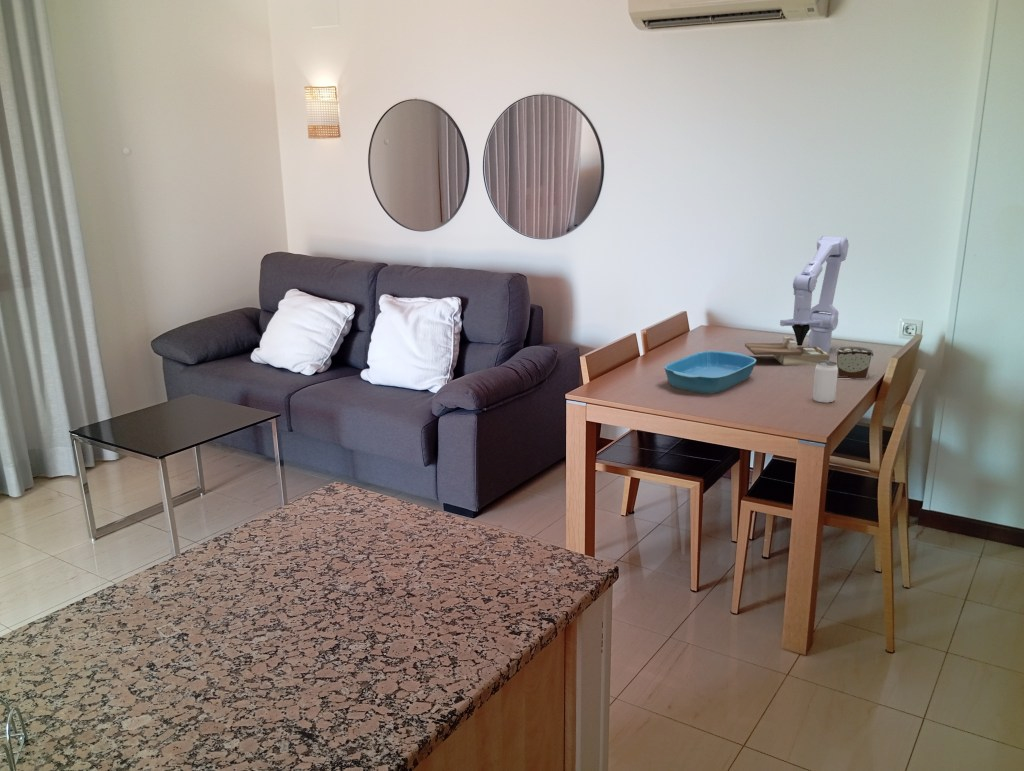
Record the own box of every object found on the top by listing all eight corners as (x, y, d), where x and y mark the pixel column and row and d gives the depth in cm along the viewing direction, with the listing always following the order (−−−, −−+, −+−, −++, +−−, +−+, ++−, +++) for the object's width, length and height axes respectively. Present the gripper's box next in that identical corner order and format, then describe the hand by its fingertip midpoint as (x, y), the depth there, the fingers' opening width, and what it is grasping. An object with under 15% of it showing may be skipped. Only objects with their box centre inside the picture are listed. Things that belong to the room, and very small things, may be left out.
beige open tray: (773, 358, 302) (774, 346, 300) (816, 358, 301) (817, 346, 300) (783, 367, 289) (784, 355, 288) (828, 367, 289) (829, 354, 287)
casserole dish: (713, 401, 252) (714, 379, 250) (652, 388, 267) (653, 367, 265) (765, 376, 279) (766, 356, 277) (707, 366, 293) (708, 347, 291)
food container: (865, 374, 279) (868, 346, 276) (870, 378, 273) (874, 350, 270) (828, 373, 280) (831, 345, 277) (833, 378, 274) (836, 350, 271)
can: (809, 397, 253) (812, 360, 250) (829, 396, 254) (832, 360, 250) (818, 403, 247) (821, 365, 244) (838, 402, 247) (842, 365, 244)
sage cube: (805, 361, 293) (806, 352, 292) (814, 360, 294) (815, 351, 293) (811, 364, 290) (812, 354, 289) (820, 363, 291) (821, 353, 290)
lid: (744, 346, 301) (745, 335, 300) (790, 345, 301) (791, 335, 300) (754, 354, 288) (754, 344, 287) (802, 354, 287) (803, 343, 286)
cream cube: (802, 357, 300) (802, 347, 299) (811, 357, 300) (812, 347, 299) (805, 359, 296) (806, 350, 295) (815, 359, 296) (815, 350, 295)
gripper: (785, 310, 286) (782, 347, 290) (826, 310, 285) (823, 347, 289) (779, 306, 293) (776, 343, 297) (820, 306, 292) (816, 343, 296)
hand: (799, 345), depth 293 cm, fingers closed
